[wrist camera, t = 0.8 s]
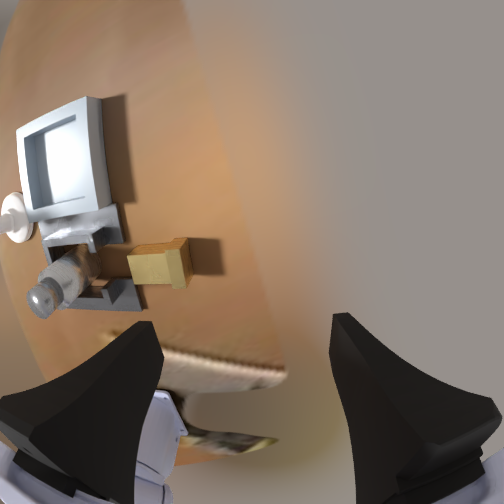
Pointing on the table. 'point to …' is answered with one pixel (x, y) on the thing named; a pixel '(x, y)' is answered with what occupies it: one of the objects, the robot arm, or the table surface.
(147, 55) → the table surface
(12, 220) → the chess piece
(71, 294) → the stepped metal cylinder
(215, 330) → the table surface
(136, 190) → the table surface
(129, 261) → the tan stepped block
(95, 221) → the socket
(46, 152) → the tray
